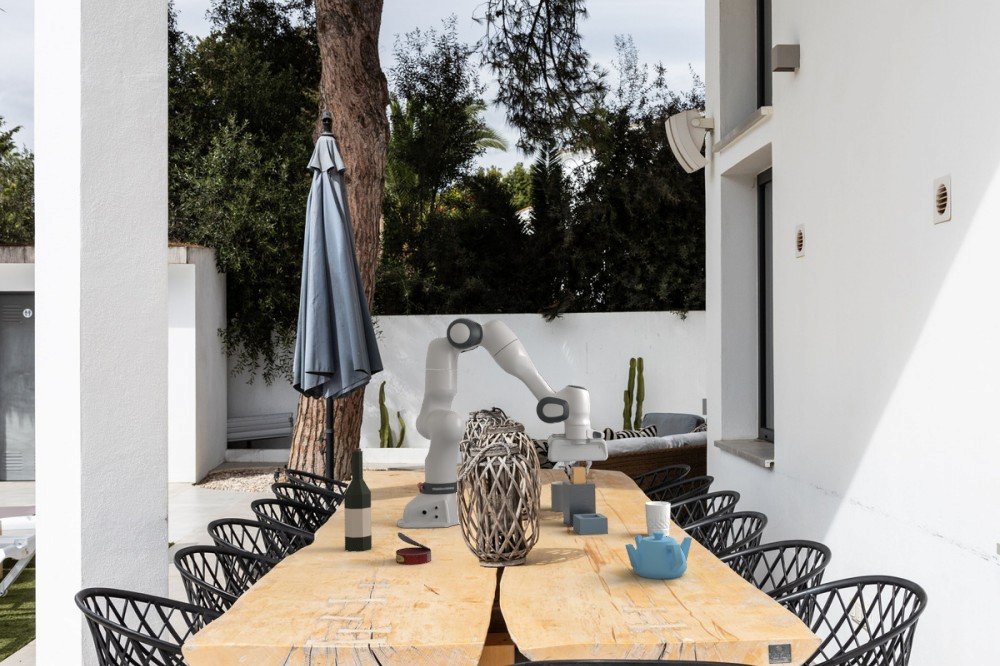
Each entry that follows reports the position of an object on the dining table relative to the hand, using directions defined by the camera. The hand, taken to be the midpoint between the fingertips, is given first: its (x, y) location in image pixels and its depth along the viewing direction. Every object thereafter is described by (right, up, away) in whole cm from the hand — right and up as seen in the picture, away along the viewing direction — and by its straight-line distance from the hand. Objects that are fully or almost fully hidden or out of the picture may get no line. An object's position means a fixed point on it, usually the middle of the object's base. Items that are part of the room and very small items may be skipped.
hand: (578, 474), depth 312 cm
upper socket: (0, -17, 0) cm, 17 cm away
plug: (0, -5, 0) cm, 5 cm away
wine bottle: (-69, -17, -34) cm, 79 cm away
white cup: (+23, -16, -22) cm, 36 cm away
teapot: (+15, -15, -73) cm, 76 cm away
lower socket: (+3, -16, -14) cm, 22 cm away
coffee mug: (-1, -18, +30) cm, 35 cm away
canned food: (-51, -17, -53) cm, 75 cm away
